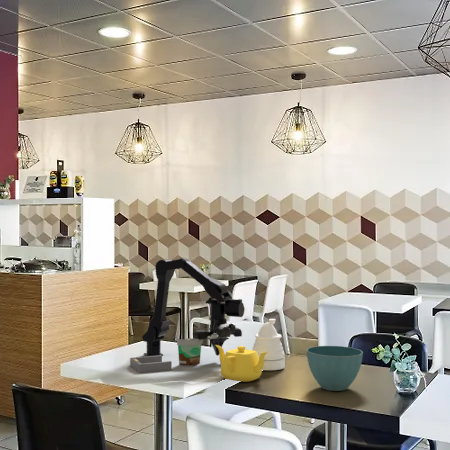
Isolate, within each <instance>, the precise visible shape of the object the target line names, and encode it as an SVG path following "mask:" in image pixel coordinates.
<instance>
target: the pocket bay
mask: <svg viewBox="0 0 450 450" xmlns="http://www.w3.org/2000/svg"><path fill="white" fill-rule="evenodd" d="M129 358H130V359H129V362H130V363H129V366H130V367H131V368H132V369H134V370H135V371H136V372H137V373H139V374H142V373H153V372H164V370H165V371H172V361H171V360H169V361H168V360H167V361H163V356H161V355H158V356H146V355H145V356H136V357H129Z"/></svg>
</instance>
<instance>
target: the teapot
mask: <svg viewBox="0 0 450 450" xmlns="http://www.w3.org/2000/svg"><path fill="white" fill-rule="evenodd" d="M216 347H217V348H218V349H219V353H220V354H219V362H220V374H221V376H222V377H223V379H225V380H228V381H229V380H230V381H235V382H244V383H246V382H252V381H255V380H257V379H259V378H260V377H261V375H262V373H263V370H262V369H263V366H264V356H265V355H266V354H267V353H268V352H263V353H261V354H260V357H259V356H258V354H257V352H256V351H253V350H252V349H246V346H245V345H239V346H236V347H237V348H233V349H229V350H227V351H226V352H225V351H224V348H223V346H222V347H221V346H219V345H216Z"/></svg>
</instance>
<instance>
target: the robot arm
mask: <svg viewBox="0 0 450 450" xmlns="http://www.w3.org/2000/svg"><path fill="white" fill-rule="evenodd" d="M154 267H155V276H156V279H157V283H156V284H157V285H156V293H155V294H156V295H155V302H154V311H153V315H152V318H151V319H150V321H149V324H148V327H147V331H146V332H145V333H144V334H143V335H142V336H141V338H142V342H144V343H146V352H143V355H144V356H145V357H146V356H158V355H161V356H162V357H164V354H163V353H162V352H161V349H162V348H161V346H162V345H161V343H162V341H161V340H164V339H165V335H167V333H168V331H170V324H171V320H169V319H167V317H166V314H167V307H168V297H169V290H170V284H171V283H170V282H171V280H172V279H173V277H174V274H175V272H176V271H175V270H180V269H181V270H182V271H184V273H186V274H188V275H189V277H191V278H192V279H194V280H195V281H196V282H197V283H198V284H200V285H201V286H202V287H203V290H204V291H205V293H206V294H207V295H208V296H209V297H208V299H207V300H206V301H205V304H206V305H207V304H209V305H210V317H209V318H208V319H209V321H210V325H209V326H210V327H209V328H208V330H205V329H195V330H194V331H193V333H192V338H196V339H203V340H206V339H207V340H209V342H210V344H211V346H212V349H213V351H214V353H215V354H214V355H215V356H218V357H219V356H220V353H219V349H218V348H217V347H216V345H219V346H221V347H222V348H223V345H224V343H225V342H226V341H227V340H229V338H230V337H231V336H233V337H234V338H236V337H240V338H241V337H242V336H243V331H242V330H241V328H238V327H236V324H235V323H233V322H232V323H228V322H227V318H226V316H227V317H233V318H234V317H235V318H243V316H244V314H245V310H246V309H245V305H244V302H243V299H242V298H238V299H236V298H235V299H234V298H233V297H232V295H231V294H230V293H229V291H228V286H227V284H225V283H224V282H221V281H220V280H218V279H215V278H212V277H211V276H209V274H207V273H206V272H204V271H203V270H202V269H200V267H198V266H197V265H196V264H194V263H193V262H191V260H190V259H189V258H188V257H182V258H179V259H173V260H172V259H170V258H169V259H167V258H166V259H160V260H158V261H157V262H156V264H155V266H154Z"/></svg>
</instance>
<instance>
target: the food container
mask: <svg viewBox="0 0 450 450" xmlns="http://www.w3.org/2000/svg"><path fill="white" fill-rule="evenodd" d="M202 344H204V339H196V338H194V337H191V338H190V337H189V338H184V339H179V338H177V341H176V345H177V351H178V353H177V354H178V365H179V366H187V367H189V366H197V364H198V365H200V364H201V354H202V353H201V352H202Z"/></svg>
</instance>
